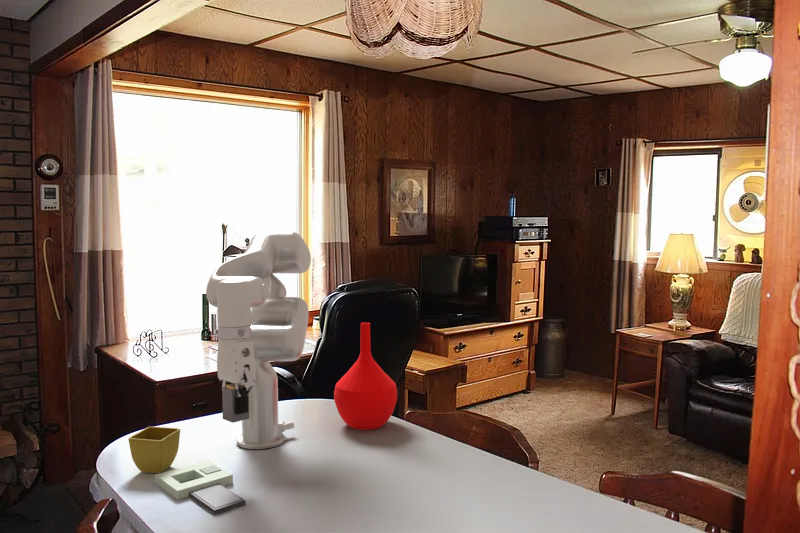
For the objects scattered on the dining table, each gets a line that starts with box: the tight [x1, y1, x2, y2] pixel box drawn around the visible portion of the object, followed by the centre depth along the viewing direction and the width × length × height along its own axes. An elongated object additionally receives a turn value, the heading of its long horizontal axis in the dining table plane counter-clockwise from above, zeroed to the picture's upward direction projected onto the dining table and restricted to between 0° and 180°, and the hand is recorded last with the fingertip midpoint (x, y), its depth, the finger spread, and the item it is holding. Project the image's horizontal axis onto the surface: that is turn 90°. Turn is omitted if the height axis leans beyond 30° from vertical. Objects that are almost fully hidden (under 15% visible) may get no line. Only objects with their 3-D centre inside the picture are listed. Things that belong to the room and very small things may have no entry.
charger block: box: [221, 383, 249, 423], centre depth 154 cm, size 4×4×8 cm
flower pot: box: [128, 426, 181, 474], centre depth 158 cm, size 9×9×9 cm
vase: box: [333, 322, 398, 431], centre depth 191 cm, size 18×18×30 cm
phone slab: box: [189, 483, 247, 516], centre depth 141 cm, size 7×12×1 cm, turn 42°
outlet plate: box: [154, 460, 234, 501], centre depth 150 cm, size 13×12×2 cm
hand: (235, 410), depth 154 cm, fingers closed on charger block, 4 cm apart
